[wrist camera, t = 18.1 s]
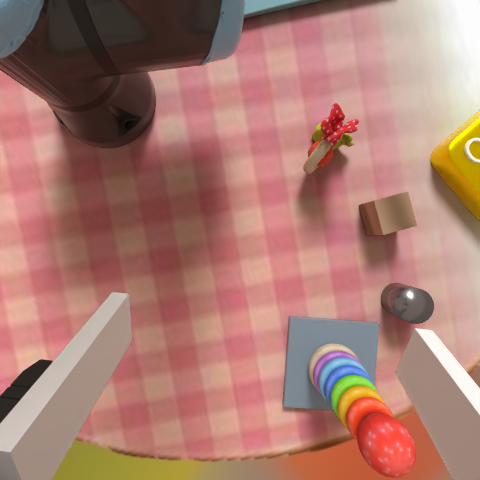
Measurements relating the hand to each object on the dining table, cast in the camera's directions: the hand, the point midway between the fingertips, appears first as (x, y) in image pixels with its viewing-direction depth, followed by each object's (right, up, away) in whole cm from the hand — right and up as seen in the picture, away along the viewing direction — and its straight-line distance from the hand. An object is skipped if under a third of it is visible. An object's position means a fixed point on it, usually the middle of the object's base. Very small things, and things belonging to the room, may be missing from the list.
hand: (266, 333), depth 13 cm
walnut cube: (+21, +8, +31) cm, 39 cm away
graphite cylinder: (+24, -5, +31) cm, 40 cm away
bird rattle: (+11, +18, +31) cm, 38 cm away
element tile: (+39, +17, +32) cm, 53 cm away
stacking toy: (+13, -16, +31) cm, 37 cm away
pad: (+13, -15, +31) cm, 37 cm away
